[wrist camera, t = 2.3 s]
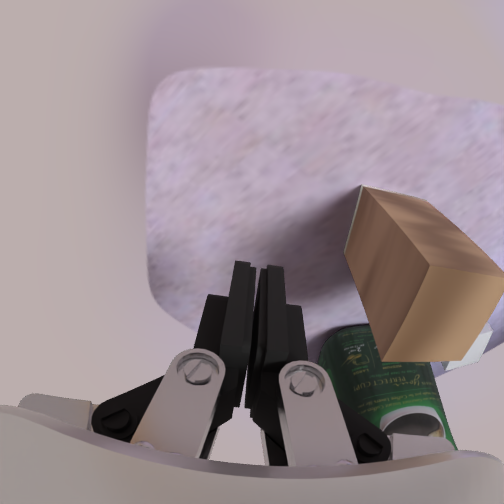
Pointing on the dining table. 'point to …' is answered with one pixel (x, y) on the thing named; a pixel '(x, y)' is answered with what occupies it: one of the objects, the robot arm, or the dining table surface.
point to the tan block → (419, 278)
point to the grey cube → (472, 350)
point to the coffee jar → (383, 386)
